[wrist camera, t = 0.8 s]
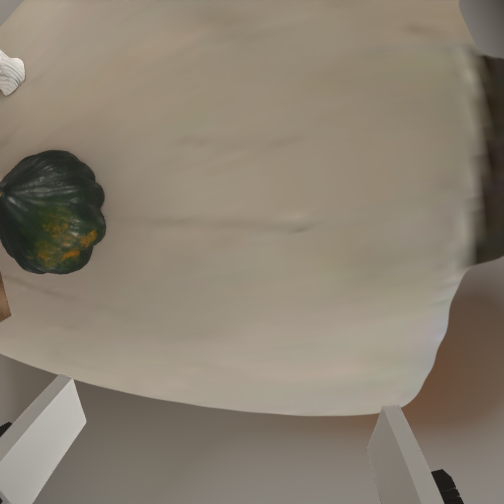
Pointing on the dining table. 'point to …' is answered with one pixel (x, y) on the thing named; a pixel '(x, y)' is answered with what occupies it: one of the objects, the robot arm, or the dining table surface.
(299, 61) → the dining table surface
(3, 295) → the shelf
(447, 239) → the dining table surface
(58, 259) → the squash
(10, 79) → the shell sculpture
